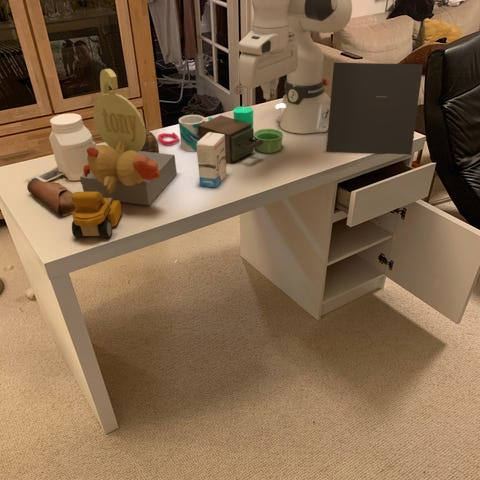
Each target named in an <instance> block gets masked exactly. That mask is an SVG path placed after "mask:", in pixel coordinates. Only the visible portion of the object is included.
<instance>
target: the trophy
mask: <svg viewBox="0 0 480 480" xmlns="http://www.w3.org/2000/svg"><path fill="white" fill-rule="evenodd" d="M99 84H100V94H101V96H100V97H98V98H97V99H96V101H95V102H94V105H93V109H92V110H93V113H92V116H93V121H94V126H95V128H96V130H97V132H98V135H99V136H100V137H101V139H102V140H103V142H104V143H105V144H106V145H108V146H110V147H112V148H113V149H115V146H116V145H117V144H118V142H119V141H122V143H123V142H124V143H125V145H126V146H127V151H130V150H131V151H136V152H137V153H138V154H140V155H145V156H147V157H148V158H150V159H151V160H154V161H156V162H157V163H158V169H159V170H160V172H161V175H160V177H159V178H155V179H154V180H152V181H150V180H145V179H144V181H142V183H140V184H138V183H137V184H135V185H132V186H126V185H124V184H123V183H122V182H120V181H118V182H116V188H115V191H114V192H112V193H111V194H109V193H108V191H107V190H106V186H104V184H103V183H101V182H99V181H98V180H97V179H96V177H95V176H94V175H93V174H92V172H91V171H90V174H88V175H87V177H86V176H85V175H84V174H83V175H82V176H81V177H80V180H79V181H80V183H81V188H82V192H100V193H101V194H102V196H103V198H114V200H115V201H120V203H126V204H135V205H143V206H150V205H151V204H152V203H153V202H154V201H155V199H157V197H158V196H159V195H160V194H161V193H162V191H164V189H166V187H167V186H168V185H169V184H170V183H171V182H172V181H173V179H174V178H175V177H176V176H177V174H178V173H177V172H178V171H177V164H176V157H175V156H176V155H175V154H169V153H160V152H159V153H152V152H143V151H140V150H141V149H142V147H143V145H144V144H145V139H146V130H147V129H146V124H145V121H144V119H143V117H142V114H141V113H140V112H139V110H138V108H137V107H136V105H134V104H133V103H132V102H131V101H130V100H129V99H128V98H126V97H125V96H123V95H121V94H119V93H116V92H115V89H116V90H117V89H119V85H118V76H117V74H116V73H115V71H114V70H113V69H111V68H104V69H101V70H100V74H99ZM110 88H111V91H110Z"/></svg>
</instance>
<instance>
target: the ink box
mask: <svg viewBox="0 0 480 480" xmlns="http://www.w3.org/2000/svg"><path fill="white" fill-rule="evenodd" d="M196 146H197V151H196V155H197V167H198V177H199V186H200V187H207V188H214V189H215V188H216V189H217V187H218V186H219V185H220V184H221V182H222V181H223V180H224V179H225V178H226V177H227V163H226V156H225V135H224V134H218V133H212V132H209V133H207V134H206V135H205V136H204V137H203V138H201V139H200V140H199V141H198V142H197V144H196Z"/></svg>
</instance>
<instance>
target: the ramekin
mask: <svg viewBox="0 0 480 480" xmlns="http://www.w3.org/2000/svg"><path fill="white" fill-rule="evenodd" d="M283 137H284V133H283V132H282V130H280V129H277V128H260V129H258V130H256V131H254V139H255V140H258V141H259V140H262V141H263V144H262V145H260V146H258V147H256V148H254V149H255V150H256V151H257V152H259V153H262V154H263V153H264V154H273V153H276V152H279V151H280V150H281V149H282V142H283Z"/></svg>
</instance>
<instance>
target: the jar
mask: <svg viewBox="0 0 480 480" xmlns="http://www.w3.org/2000/svg"><path fill="white" fill-rule="evenodd" d="M49 124H50V126H51V132H50V135H49V137H48V141H49V143H50V146H51V150H52V153H53V157H54V160H55V163H56V167H58V171H59V172H63V173H65V174H63V175H62V176H64V177H66V178H67V179H68V180H69V181H81V180H80V177H81V176H82V175H83V174H84V170H83V168H84V166H85V165H88V160H87V156H88V153H87V149H88V148H89V147H94V144H93V141H94V140H93V134H92V133H91V132H90V130H89V129H88V128H87V127H86V126H85V124H84V122H83V118H82V116H81V115H80V114H79V113H72V112H71V113H62V114H58V115H55V116H53V117H51V118H50V120H49Z"/></svg>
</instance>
